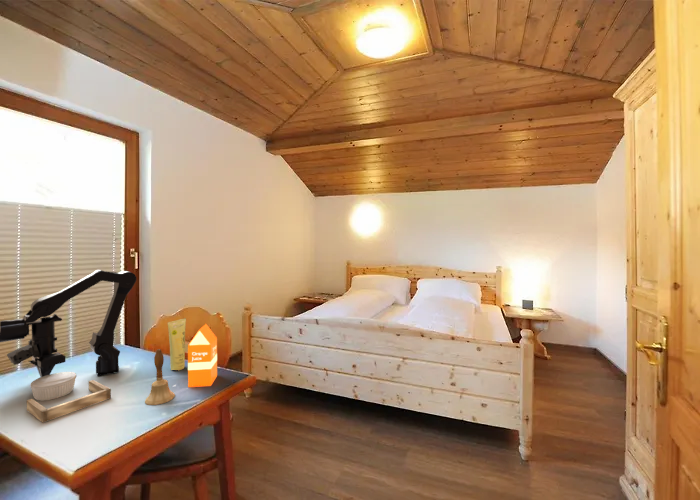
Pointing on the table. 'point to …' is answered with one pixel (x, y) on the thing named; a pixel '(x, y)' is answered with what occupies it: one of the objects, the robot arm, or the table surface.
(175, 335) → the tube
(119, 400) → the table surface
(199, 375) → the orange juice
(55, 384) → the ramekin
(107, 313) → the robot arm
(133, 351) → the table surface
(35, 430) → the table surface
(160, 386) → the hand bell
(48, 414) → the cradle
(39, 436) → the table surface
